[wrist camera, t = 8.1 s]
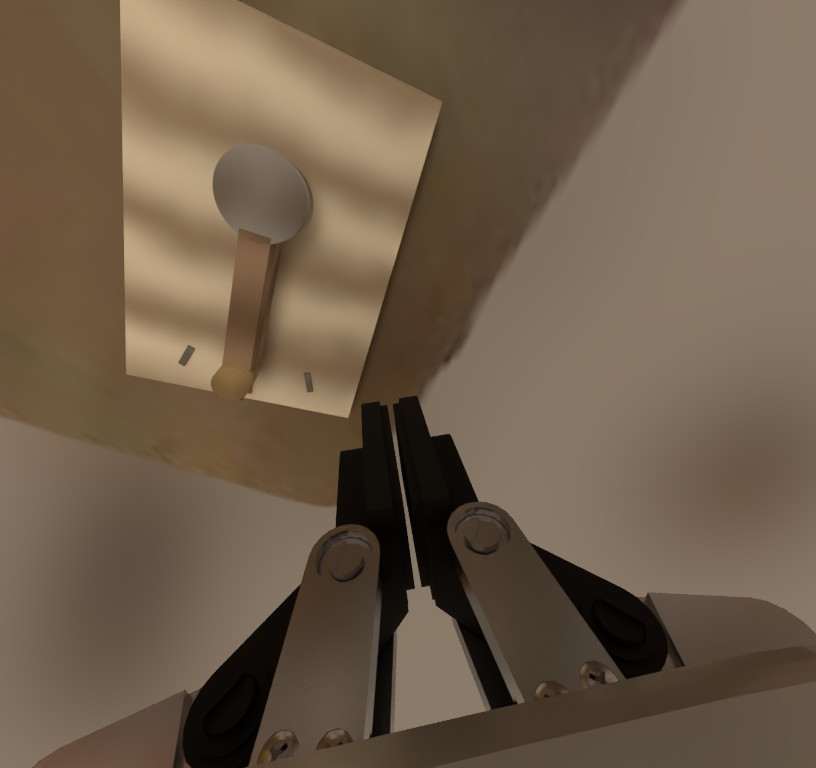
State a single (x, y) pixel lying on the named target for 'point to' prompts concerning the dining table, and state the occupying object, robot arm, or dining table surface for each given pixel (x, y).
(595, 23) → the dining table surface
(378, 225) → the dial board
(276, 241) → the lever
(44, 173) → the dining table surface
